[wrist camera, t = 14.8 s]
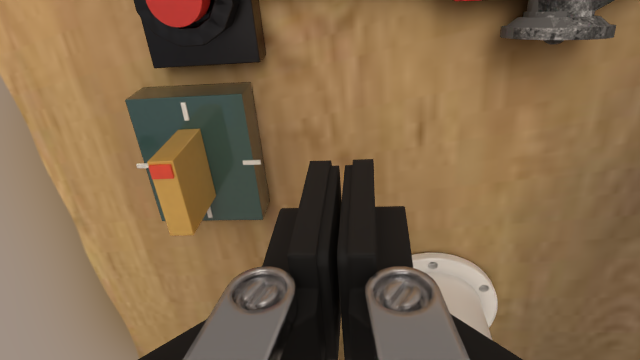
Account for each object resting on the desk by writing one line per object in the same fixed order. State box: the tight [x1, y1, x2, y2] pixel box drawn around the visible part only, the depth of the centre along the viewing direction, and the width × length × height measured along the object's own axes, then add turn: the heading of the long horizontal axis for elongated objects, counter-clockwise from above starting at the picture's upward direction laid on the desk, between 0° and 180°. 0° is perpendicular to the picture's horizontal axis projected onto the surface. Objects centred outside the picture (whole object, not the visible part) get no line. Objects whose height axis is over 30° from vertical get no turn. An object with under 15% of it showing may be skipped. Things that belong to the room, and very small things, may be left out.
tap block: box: [125, 82, 270, 221], centre depth 36 cm, size 11×10×3 cm
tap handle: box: [147, 129, 216, 236], centre depth 32 cm, size 6×2×6 cm, turn 5°
